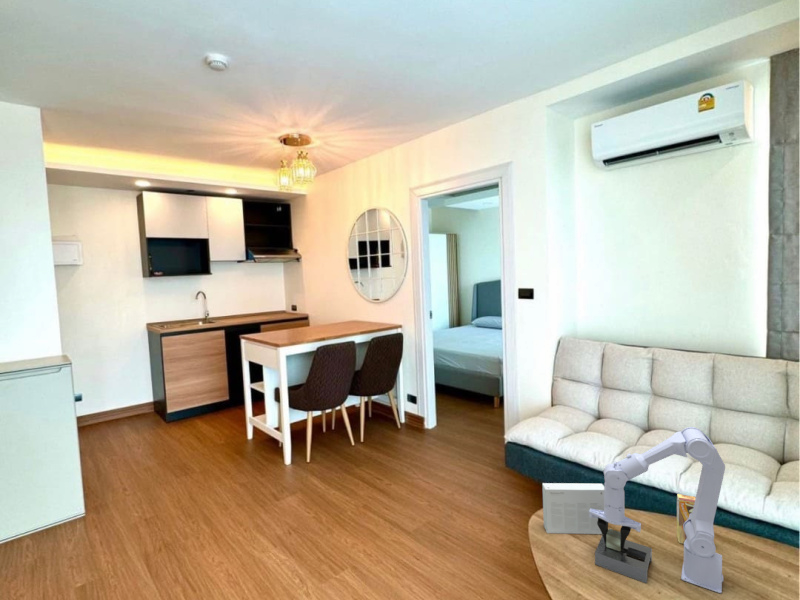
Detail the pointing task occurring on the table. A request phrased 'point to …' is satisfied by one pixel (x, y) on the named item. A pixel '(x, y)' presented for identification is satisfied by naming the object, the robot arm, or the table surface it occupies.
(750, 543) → the table surface
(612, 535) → the peg
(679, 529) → the candy box
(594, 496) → the skincare box
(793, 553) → the table surface
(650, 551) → the keyhole bracket
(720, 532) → the table surface
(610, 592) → the table surface
